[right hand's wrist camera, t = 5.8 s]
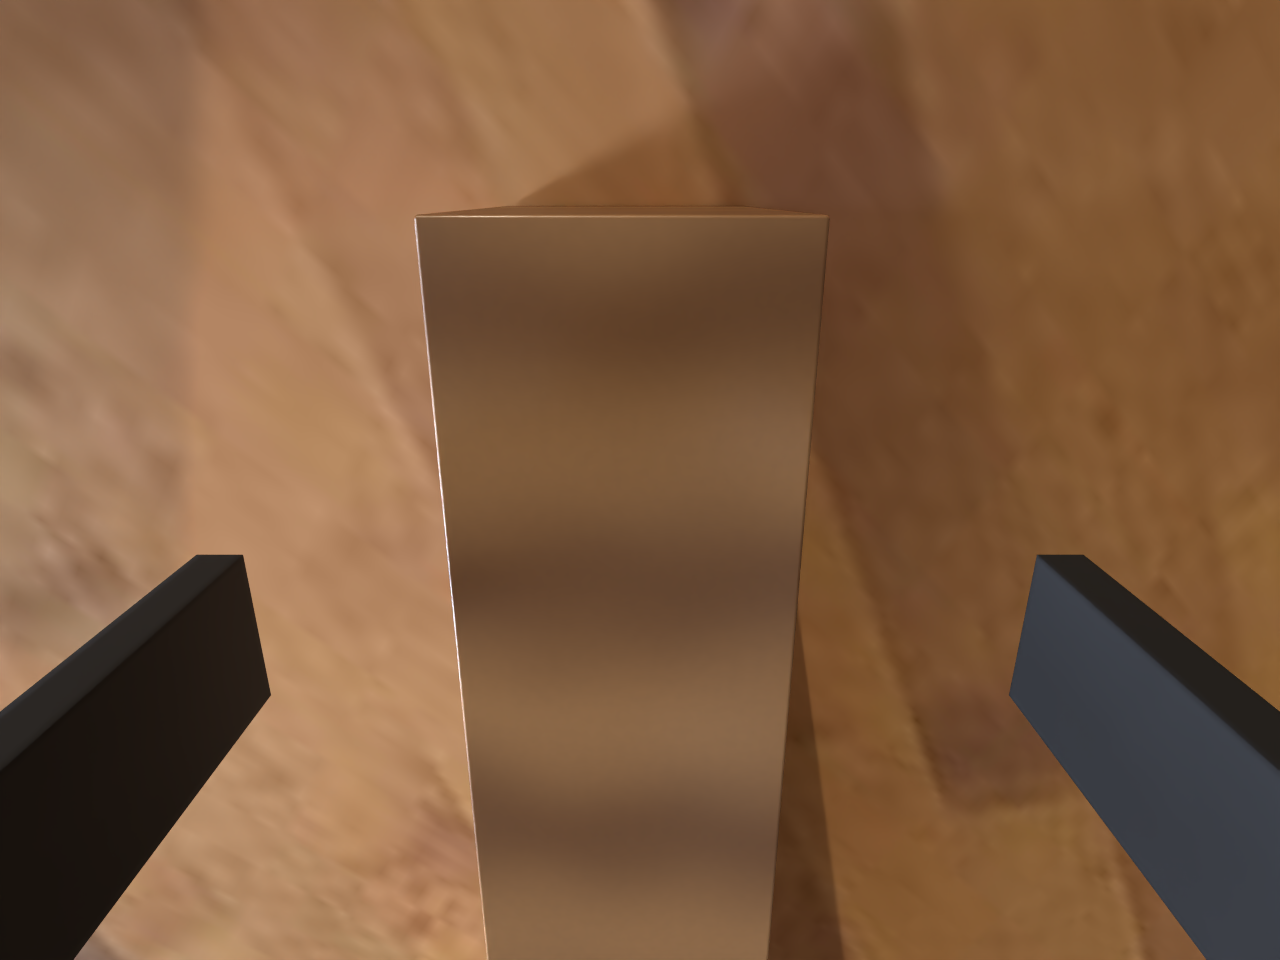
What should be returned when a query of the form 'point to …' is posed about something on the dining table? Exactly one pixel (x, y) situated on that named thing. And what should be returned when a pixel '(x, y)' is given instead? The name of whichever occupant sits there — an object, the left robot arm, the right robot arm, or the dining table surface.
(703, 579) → the beam
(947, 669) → the dining table surface
